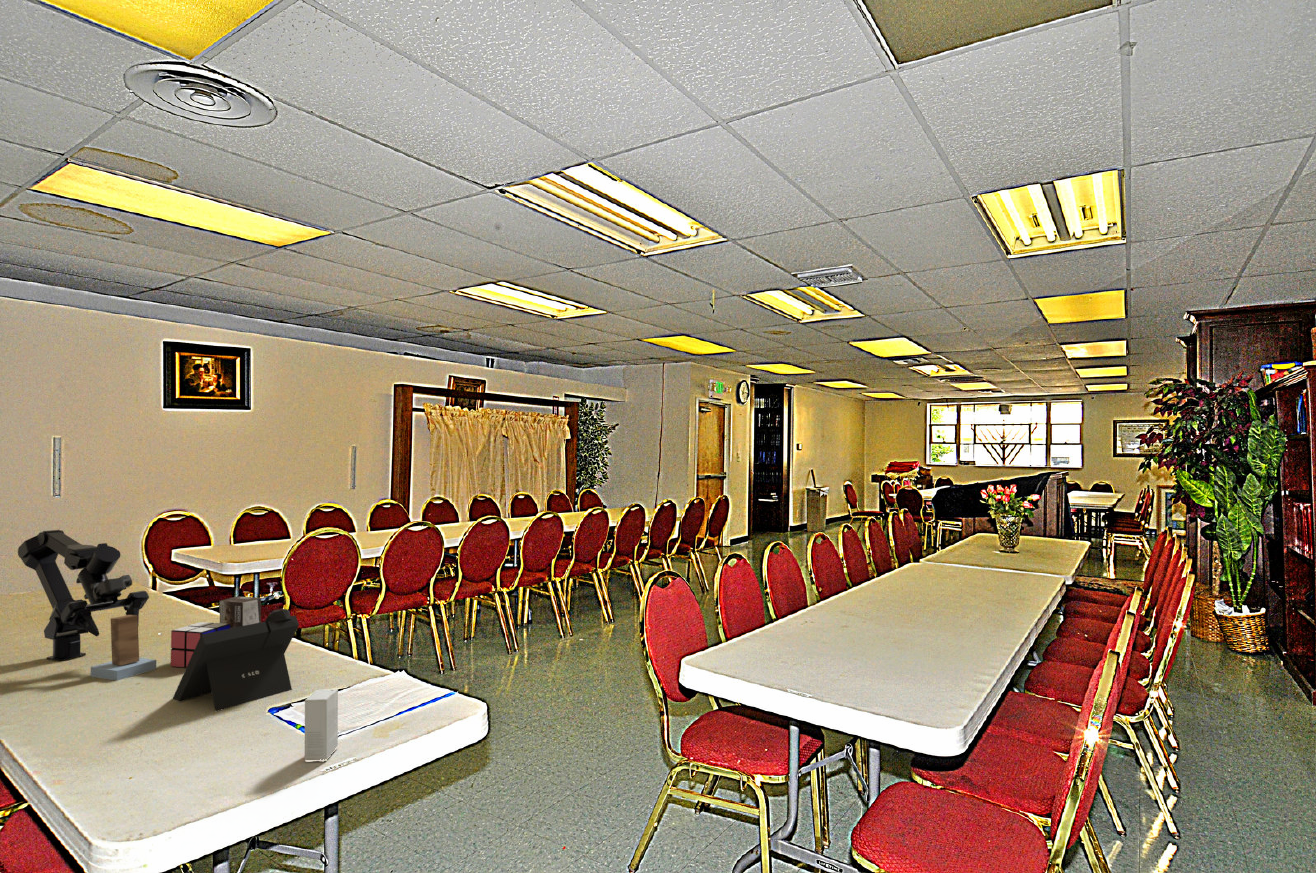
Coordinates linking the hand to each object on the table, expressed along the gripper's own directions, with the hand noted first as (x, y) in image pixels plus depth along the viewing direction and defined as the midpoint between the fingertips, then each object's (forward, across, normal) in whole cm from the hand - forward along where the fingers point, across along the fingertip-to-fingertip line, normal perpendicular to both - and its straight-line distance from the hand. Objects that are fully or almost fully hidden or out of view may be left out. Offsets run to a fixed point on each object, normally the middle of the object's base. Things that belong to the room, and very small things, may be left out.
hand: (117, 631), depth 188 cm
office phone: (+36, +9, -21) cm, 42 cm away
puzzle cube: (+16, +14, -1) cm, 22 cm away
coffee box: (+18, +24, -3) cm, 30 cm away
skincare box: (+73, -11, -60) cm, 95 cm away
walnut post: (+8, 0, +3) cm, 9 cm away
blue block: (+10, 0, +5) cm, 11 cm away
